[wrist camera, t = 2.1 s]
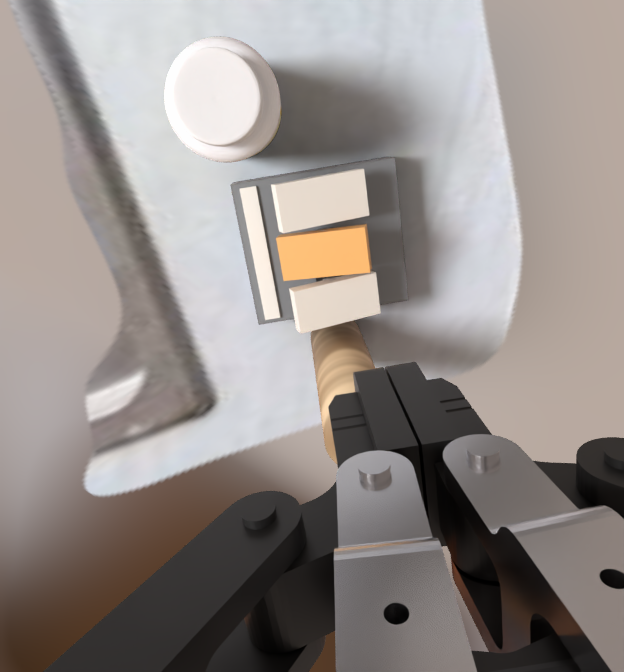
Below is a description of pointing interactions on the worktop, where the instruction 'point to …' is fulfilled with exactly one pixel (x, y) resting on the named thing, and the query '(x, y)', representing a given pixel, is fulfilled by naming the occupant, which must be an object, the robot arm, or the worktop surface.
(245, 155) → the supplement bottle
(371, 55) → the worktop surface
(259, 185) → the board
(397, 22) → the worktop surface
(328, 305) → the paddle near post
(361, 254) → the paddle middle
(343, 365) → the pine post
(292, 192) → the paddle near bottle
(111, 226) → the worktop surface
